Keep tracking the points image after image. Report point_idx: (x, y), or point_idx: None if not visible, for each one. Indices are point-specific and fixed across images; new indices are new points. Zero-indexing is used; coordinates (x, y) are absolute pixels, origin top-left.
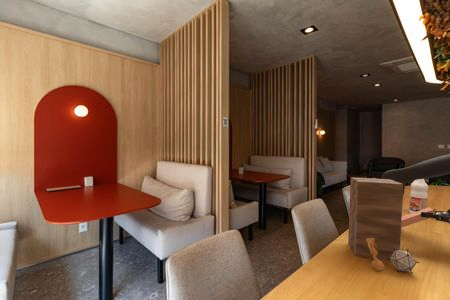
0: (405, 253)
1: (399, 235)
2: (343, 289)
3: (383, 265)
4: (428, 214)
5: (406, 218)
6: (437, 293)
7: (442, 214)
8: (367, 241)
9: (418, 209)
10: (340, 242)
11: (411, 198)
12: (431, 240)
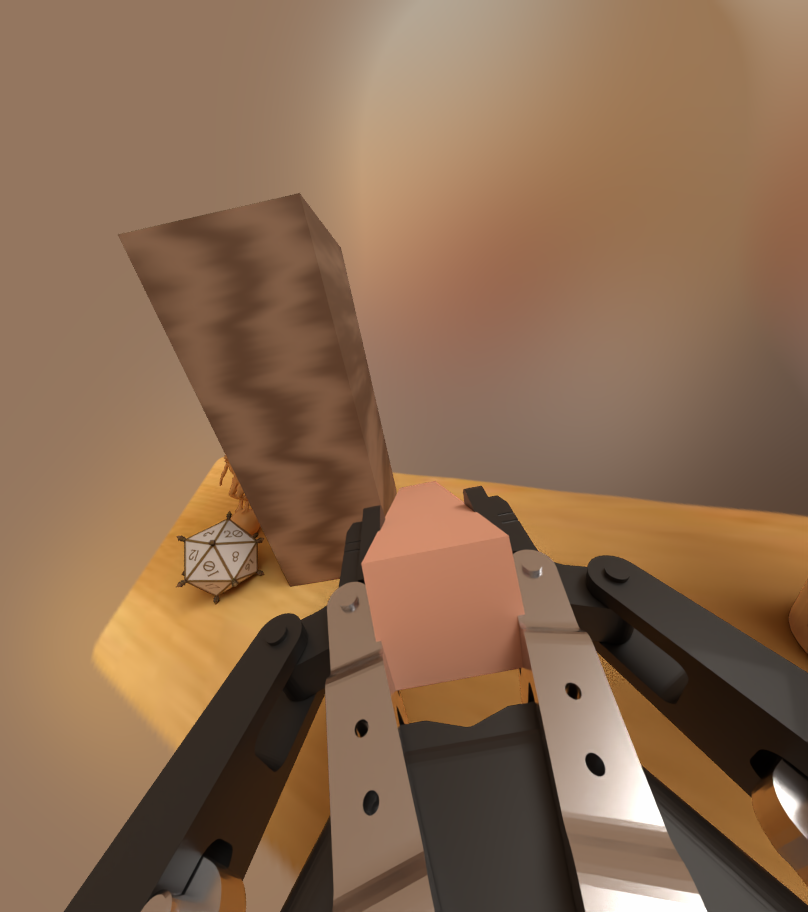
0: (198, 537)
1: (252, 502)
2: (206, 495)
3: None
4: (343, 557)
5: (396, 500)
6: (107, 636)
7: (363, 796)
8: None
9: (481, 497)
10: (399, 479)
11: None
12: None
